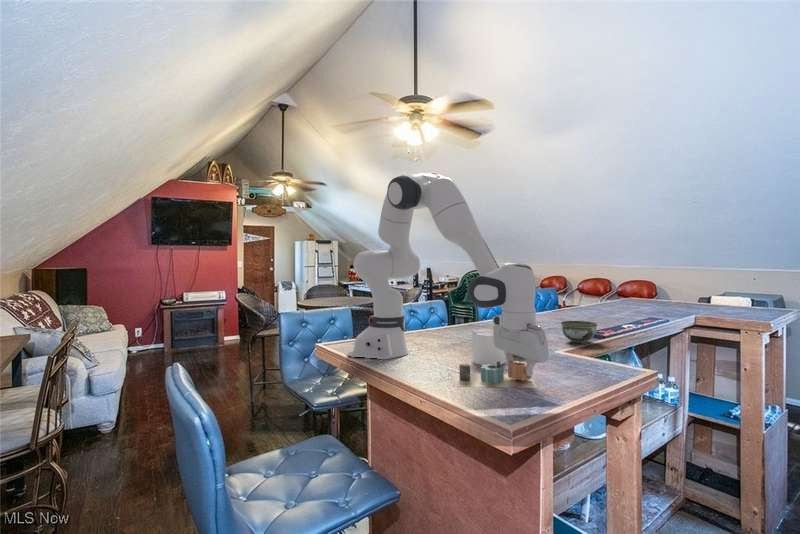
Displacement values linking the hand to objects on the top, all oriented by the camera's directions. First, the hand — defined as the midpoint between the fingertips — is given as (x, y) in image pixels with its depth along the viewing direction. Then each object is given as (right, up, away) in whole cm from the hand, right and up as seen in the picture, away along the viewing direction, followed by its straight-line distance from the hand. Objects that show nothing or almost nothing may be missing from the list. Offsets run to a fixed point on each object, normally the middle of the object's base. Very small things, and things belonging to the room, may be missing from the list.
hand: (519, 371), depth 107 cm
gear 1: (-7, -3, +1) cm, 8 cm away
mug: (-4, -4, +22) cm, 22 cm away
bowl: (+40, -2, +51) cm, 65 cm away
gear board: (-7, -4, +1) cm, 8 cm away
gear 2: (0, -2, 0) cm, 2 cm away
